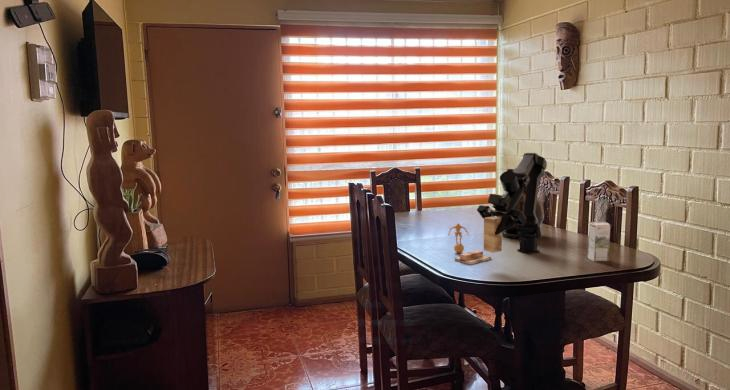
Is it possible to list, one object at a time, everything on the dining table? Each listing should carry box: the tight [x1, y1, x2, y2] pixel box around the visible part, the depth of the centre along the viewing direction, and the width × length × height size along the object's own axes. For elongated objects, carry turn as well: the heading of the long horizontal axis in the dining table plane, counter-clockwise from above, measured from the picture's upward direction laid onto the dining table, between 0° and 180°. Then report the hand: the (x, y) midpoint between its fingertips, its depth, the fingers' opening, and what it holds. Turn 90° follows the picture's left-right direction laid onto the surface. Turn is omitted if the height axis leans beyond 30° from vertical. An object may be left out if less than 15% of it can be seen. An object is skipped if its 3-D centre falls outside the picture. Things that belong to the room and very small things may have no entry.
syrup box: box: [587, 221, 611, 263], centre depth 205 cm, size 6×6×14 cm
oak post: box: [483, 216, 503, 253], centre depth 194 cm, size 4×4×12 cm
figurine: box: [448, 223, 469, 254], centre depth 221 cm, size 8×6×12 cm
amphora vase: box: [499, 185, 545, 240], centre depth 250 cm, size 22×22×28 cm
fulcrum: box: [454, 249, 492, 265], centre depth 209 cm, size 12×8×3 cm, turn 128°
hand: (490, 233), depth 193 cm, fingers closed on oak post, 4 cm apart
